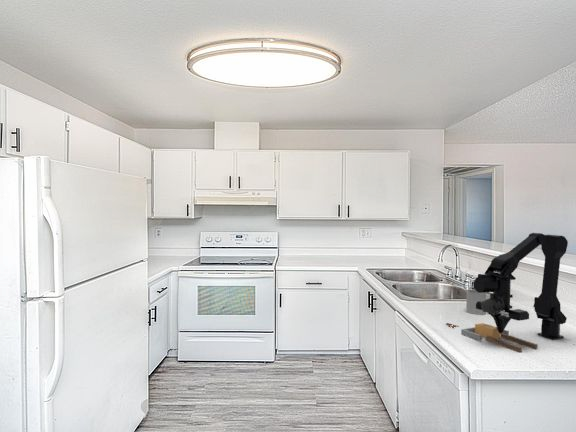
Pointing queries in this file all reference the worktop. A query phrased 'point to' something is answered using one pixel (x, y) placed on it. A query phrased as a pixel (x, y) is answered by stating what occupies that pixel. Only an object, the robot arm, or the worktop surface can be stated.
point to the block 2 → (491, 332)
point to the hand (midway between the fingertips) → (500, 332)
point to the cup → (474, 302)
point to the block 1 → (480, 328)
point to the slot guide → (511, 346)
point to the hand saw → (451, 326)
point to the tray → (471, 333)
